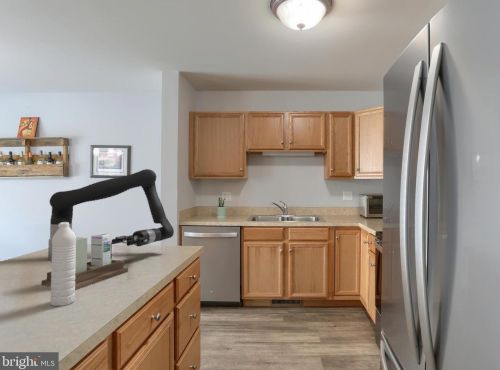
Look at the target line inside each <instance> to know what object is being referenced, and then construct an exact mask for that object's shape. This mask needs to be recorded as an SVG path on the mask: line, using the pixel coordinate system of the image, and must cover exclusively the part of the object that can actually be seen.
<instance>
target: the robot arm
mask: <svg viewBox="0 0 500 370" xmlns="http://www.w3.org/2000/svg"><path fill="white" fill-rule="evenodd" d="M156 180H157V173H156V172H155V171H154V170H152V169H150V168H149V169H147V168H145V169H142V170H139V171H137V172H133V173H131V174H128V175H123V176H118V177H113V178H109V179H104V180H100V181H97V182H94V183H91V184H88V185H86V186H82V187H80V188H77V189H70V190H62V191H57V192H54V193H53V194H52V195H51V197H50V199H49V205H50V207H51V214H50V223H49V224H50V225H49V226H50V227H49V239H48V246H47V247H48V254H47V256H48V257H47V259H48V260H51V261H52V238H53V236H54V234H55V233H56V232H57V230H58V229H59V228H60V227H58V224H60V223H61V222H69V227H70V228H71V230H72V231H73V216H74V207H75V206H77V205H80V204H83V203H88V202H95V201H99V200H104V199H108V198H112V197H115V196H118V195H120V194H122V193H125V192H127V191H129V190H132V189H134V188H139V187H141V188H142V190H143V193H144V194H145V197H146V200H147V205H148V207H149V211H150V215H151V217H152V221H153V223H154V224H160V225H161V227H158V228H149V229H148V228H147V229H141V230H136V231H135V232H133V233H132V234H129V235H121V236H116V237H115V238H112V245H116V244H123V245H124V244H125V245H126V246H127V247H128V246H136V247H142V246H145V245H150V244H152V243H156V242H160V241H164V240H168V239H171V238H172V237H173V236H174V235H175V234H174V233H175V230H174V227H173V226H172V225H171V222H170V221H169V220H168V218H167V215H166V213H165V209H164V206H163V204H162V202H161V201H162V200H161V199H160V197H159V194H158V192H157V184H156Z"/></svg>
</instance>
